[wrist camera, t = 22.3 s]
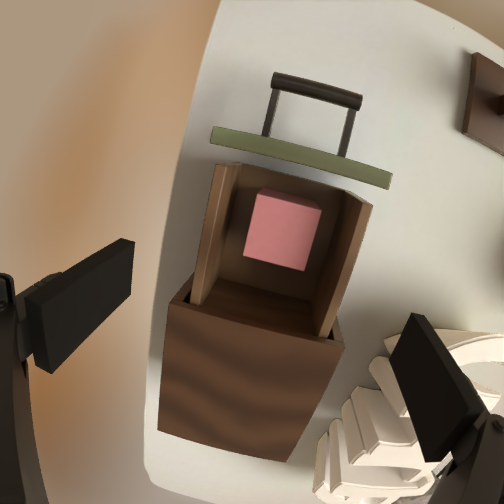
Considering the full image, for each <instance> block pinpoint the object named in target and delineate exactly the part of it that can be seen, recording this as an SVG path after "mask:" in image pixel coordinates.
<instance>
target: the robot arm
mask: <svg viewBox="0 0 504 504" xmlns="http://www.w3.org/2000/svg"><path fill="white" fill-rule="evenodd" d="M134 248H135V242H134V241H130V240H126V239H122V238H120V239H118V240H117V241H115V242H113V243H112V244H110V245H108V246H106V247H104V248H103V249H101V250H100V251H97V252H96V253H94V254H92V255H91V256H89V257H87V258H86V259H84V260H82V261H81V262H79V263H77V264H76V265H74V266H72V267H71V268H69V269H68V270H66V271H65V272H63V273H62V272H58V273H55V274H51V275H49V276H47V277H45V278H43V279H42V280H41V281H38V282H37V283H35V284H34V286H33V285H32V286H30V287H29V288H27V289H26V290H24V291H23V292H21V293H19V294H18V295H16V296H15V289H14V280H13V278H12V277H11V276H10V275H8V274H5V273H0V504H49V502H48V498H47V495H46V491H45V487H44V483H43V479H42V474H41V469H40V464H39V459H38V454H37V448H36V442H35V437H34V430H33V421H32V413H31V403H30V392H29V377H28V364H27V359H26V358H27V357H29V356H30V355H31V354H32V353H33V356H34V361H35V365H36V366H37V367H39V368H41V369H43V370H45V371H46V372H48V373H50V374H53V372H54V371H55V370H56V369H57V368H58V367H59V366H60V365H61V364H62V363H63V362H64V361H65V360H66V359H67V358H68V357H69V356H70V355H71V354H72V353H73V352H74V351H75V350H76V349H77V347H78V346H79V345H80V344H81V343H82V342H83V341H84V340H85V339H86V338H87V337H88V336H89V335H90V334H91V333H92V332H93V331H94V330H95V329H96V328H97V327H98V326H99V325H100V324H101V323H102V322H103V321H104V320H105V319H106V318H107V317H108V316H109V315H110V314H111V313H112V312H113V311H114V310H115V309H116V308H117V307H118V306H119V305H121V304H122V303H123V302H124V300H126V299H127V298H128V297H129V296H130V295H131V282H132V269H133V258H134ZM389 362H390V364H391V367H392V370H393V372H394V375H395V377H396V380H397V383H398V385H399V388H400V391H401V393H402V396H403V399H404V401H405V404H406V407H407V410H408V413H409V415H410V418H411V421H412V424H413V427H414V430H415V433H416V436H417V439H418V442H419V445H420V448H421V451H422V455H423V458H424V461H425V463H430V462H441V461H442V460H443V459H444V458H445V457H446V456H447V455H448V454H449V452H450V451H451V454H452V456H453V459H452V460H451V461H450V462H449V463H448V464H447V465H446V466H445V467H444V468H443V469H442V470H441V471H440V472H439V473H438V474H437V476H436V477H437V478H438V477H439V476H440V475H442V474H443V475H442V477H441V479H440V481H439V483H438V485H437V487H436V489H435V490H434V492H433V494H432V496H431V498H430V500H429V502H428V503H427V504H504V418H503V417H502V416H500V415H497V414H490V412H489V411H488V409H487V407H486V406H485V404H484V402H483V400H482V399H481V397H480V395H478V392H477V390H476V389H475V388H474V386H473V384H472V382H471V381H470V379H469V378H468V377H467V376H466V375H465V374H464V373H463V372H462V371H461V369H460V368H459V366H458V364H457V363H456V361H455V360H454V358H453V357H452V355H451V354H450V352H449V351H448V349H447V348H446V346H445V345H444V343H443V342H442V340H441V339H440V337H439V336H438V334H437V333H436V331H435V330H434V328H433V327H432V326H431V324H430V323H429V321H428V320H427V318H426V317H425V316H424V315H421V314H416V313H412V312H411V314H410V317H409V319H408V321H407V323H406V325H405V327H404V330H403V332H402V334H401V336H400V338H399V340H398V342H397V344H396V346H395V348H394V350H393V352H392V354H391V356H390V358H389Z"/></svg>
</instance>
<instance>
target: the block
mask: <svg viewBox="0 0 504 504" xmlns="http://www.w3.org/2000/svg"><path fill="white" fill-rule="evenodd" d="M321 212H322V210H321V209H320V207H319V205H318V203H317V202H316V201H313V200H310V199H306V198H302V197H298V196H295V195H291V194H287V193H283V192H279V191H275V190H271V189H267V188H262V189H261V190H260V191H259V192H258V194H257V196H256V200H255V205H254V209H253V213H252V217H251V222H250V226H249V230H248V234H247V238H246V243H245V247H244V251H243V256H247V257H251V258H254V259H258V260H262V261H266V262H270V263H274V264H278V265H282V266H285V267H289V268H293V269H297V270H301V271H304V270H305V267H306V264H307V260H308V257H309V254H310V250H311V247H312V244H313V240H314V237H315V233H316V230H317V226H318V223H319V219H320V216H321Z"/></svg>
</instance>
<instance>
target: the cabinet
mask: <svg viewBox="0 0 504 504" xmlns="http://www.w3.org/2000/svg"><path fill="white" fill-rule="evenodd" d="M194 273H195V271H194ZM194 273H193V274H192V275H191V276H190V278H189V279H188V280H187V281H186V283H185V284H184V285H183V286H182V288H181V289H180V290H179V291H178V293H177V294H176V295H175V296H174V298H173V299H172V300H171V301H170V303H169V307H168V315H167V324H166V332H165V342H164V351H163V361H162V372H161V384H160V397H159V411H158V428H157V430H159V431H162V432H165V433H168V434H171V435H174V436H177V437H180V438H183V439H186V440H190V441H193V442H196V443H200V444H203V445H207V446H211V447H214V448H218V449H222V450H226V451H230V452H235V453H239V454H243V455H248V456H253V457H257V458H263V459H268V460H273V461H279V462H285V463H286V462H287V460H288V458H289V456H290V455H291V453H292V451H293V450H294V448H295V446H296V444H297V443H298V441H299V439H300V437H301V435H302V434H303V432H304V430H305V428H306V426H307V424H308V423H309V421H310V419H311V417H312V415H313V413H314V411H315V409H316V407H317V405H318V404H319V402H320V400H321V398H322V396H323V394H324V392H325V390H326V388H327V386H328V383H329V381H330V379H331V377H332V375H333V373H334V371H335V369H336V367H337V365H338V362H339V360H340V358H341V356H342V354H343V351H344V349H345V346H344V342H343V338H342V334H341V330H340V326H339V322H338V318H337V315H336V317H335V320H334V322H333V325H332V327H331V330H330V332H329V335H328V337H327V339H325V338H320V337H316V336H312V335H307V334H303V333H299V332H294V331H290V330H286V329H282V328H278V327H274V326H270V325H266V324H262V323H258V322H254V321H250V320H246V319H242V318H238V317H235V316H231V315H227V314H224V313H220V312H216V311H213V310H209V309H206V308H202V307H199V306H195V305H192V304H189V302H190V296H191V290H192V284H193V279H194Z"/></svg>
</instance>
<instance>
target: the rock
mask: <svg viewBox="0 0 504 504" xmlns="http://www.w3.org/2000/svg"><path fill="white" fill-rule="evenodd" d="M431 472H432V475H433V477H434V479H435V481H434V483H433V485H432V486H431V488H430V489H429V490H428V491H427V492H426V493H425V494H423V495H418V496H407V497H399V498H398V499H397V500H396V501H394V502H393V503H391V504H427V503H428V502H429V500H430V498H431V496H432V494H433V492H434V490H435V489H436V487H437V485H438V483H439V481H440V479H439V478H437V477H436V476H435V474H434V473H433V471H431Z"/></svg>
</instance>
